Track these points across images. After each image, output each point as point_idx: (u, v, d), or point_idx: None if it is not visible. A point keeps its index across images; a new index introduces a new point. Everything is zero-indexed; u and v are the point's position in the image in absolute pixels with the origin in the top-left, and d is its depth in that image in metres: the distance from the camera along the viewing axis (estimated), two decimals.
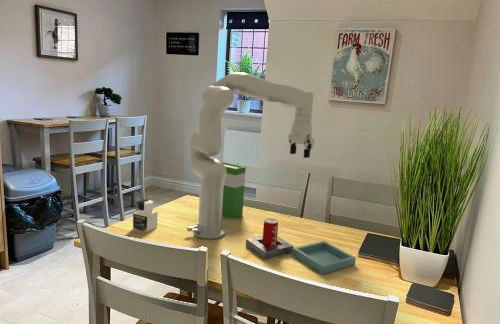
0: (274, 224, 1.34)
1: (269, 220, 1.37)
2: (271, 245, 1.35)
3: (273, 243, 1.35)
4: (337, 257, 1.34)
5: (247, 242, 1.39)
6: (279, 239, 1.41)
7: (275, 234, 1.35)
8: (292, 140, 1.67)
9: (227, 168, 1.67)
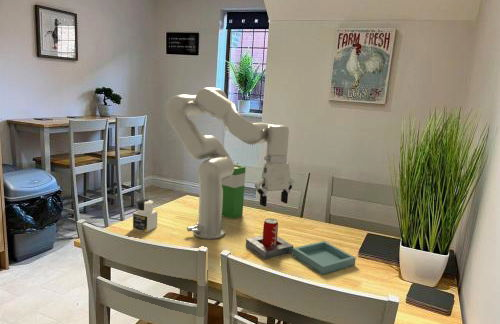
0: (274, 224, 1.34)
1: (269, 220, 1.37)
2: (271, 245, 1.35)
3: (273, 243, 1.35)
4: (337, 257, 1.34)
5: (247, 242, 1.39)
6: (279, 239, 1.41)
7: (275, 234, 1.35)
8: (273, 188, 1.30)
9: None
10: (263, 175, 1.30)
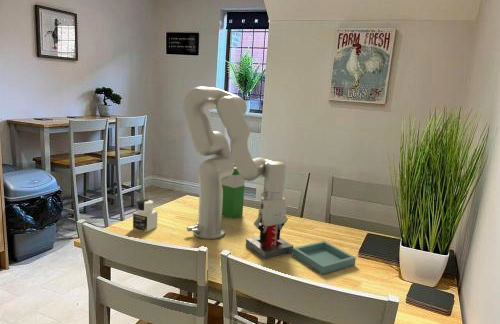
0: None
1: None
2: (271, 245, 1.35)
3: (273, 243, 1.35)
4: (337, 257, 1.34)
5: (247, 242, 1.39)
6: (279, 239, 1.41)
7: (275, 234, 1.35)
8: (269, 224, 1.32)
9: None
10: (260, 211, 1.33)
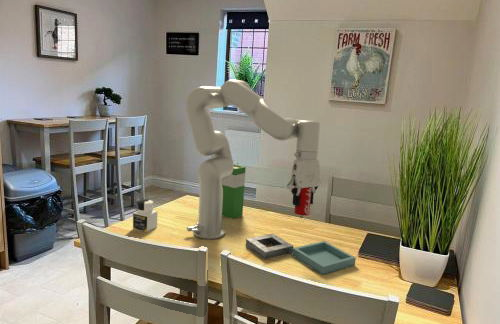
0: None
1: None
2: (305, 209, 1.29)
3: (307, 207, 1.29)
4: (337, 257, 1.34)
5: (247, 242, 1.39)
6: (279, 239, 1.41)
7: (309, 197, 1.29)
8: (303, 186, 1.26)
9: None
10: (293, 172, 1.27)
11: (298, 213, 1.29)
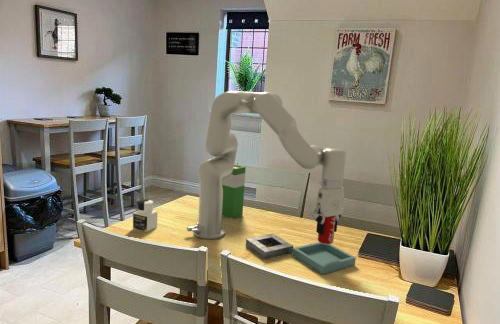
0: None
1: None
2: (329, 237, 1.28)
3: (331, 235, 1.28)
4: (337, 257, 1.34)
5: (247, 242, 1.39)
6: (279, 239, 1.41)
7: (333, 225, 1.28)
8: (328, 215, 1.25)
9: None
10: (318, 201, 1.25)
11: (322, 241, 1.28)
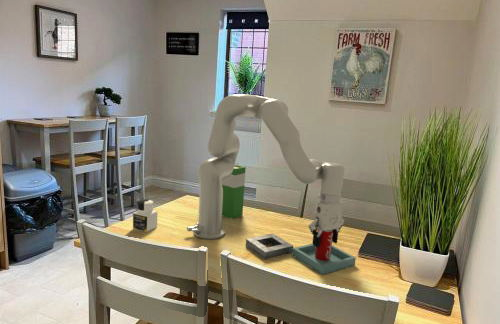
0: (329, 232, 1.28)
1: None
2: (326, 254, 1.29)
3: (328, 252, 1.29)
4: (337, 257, 1.34)
5: (247, 242, 1.39)
6: (279, 239, 1.41)
7: (330, 243, 1.29)
8: (326, 229, 1.26)
9: None
10: (317, 215, 1.26)
11: (319, 258, 1.30)
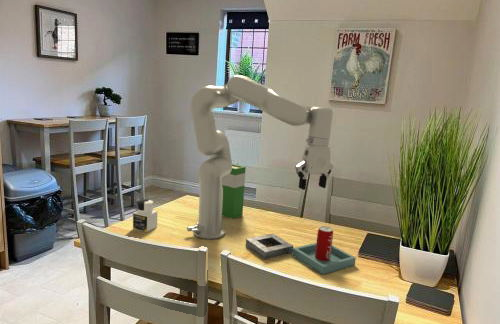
0: (330, 232, 1.28)
1: (323, 228, 1.31)
2: (326, 254, 1.29)
3: (328, 252, 1.29)
4: (337, 257, 1.34)
5: (247, 242, 1.39)
6: (279, 239, 1.41)
7: (330, 243, 1.29)
8: (313, 172, 1.27)
9: None
10: (304, 158, 1.28)
11: (319, 258, 1.30)
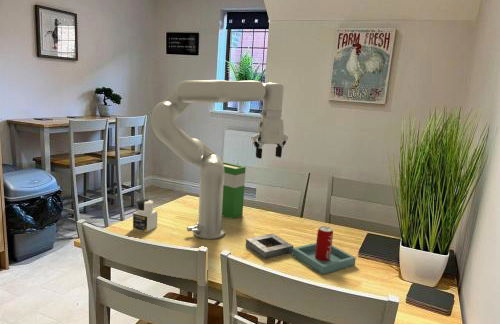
0: (330, 232, 1.28)
1: (323, 228, 1.31)
2: (326, 254, 1.29)
3: (328, 252, 1.29)
4: (337, 257, 1.34)
5: (247, 242, 1.39)
6: (279, 239, 1.41)
7: (330, 243, 1.29)
8: (268, 142, 1.41)
9: (227, 168, 1.67)
10: (259, 130, 1.41)
11: (319, 258, 1.30)
